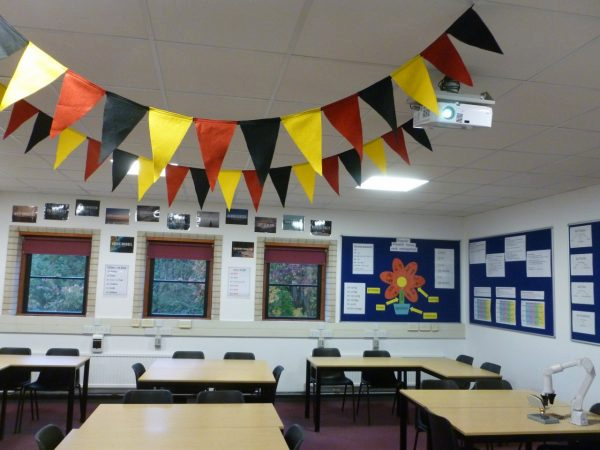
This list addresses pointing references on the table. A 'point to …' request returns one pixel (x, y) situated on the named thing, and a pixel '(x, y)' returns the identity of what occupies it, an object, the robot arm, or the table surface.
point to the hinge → (536, 401)
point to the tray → (548, 419)
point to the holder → (555, 416)
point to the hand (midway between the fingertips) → (548, 405)
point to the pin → (542, 413)
